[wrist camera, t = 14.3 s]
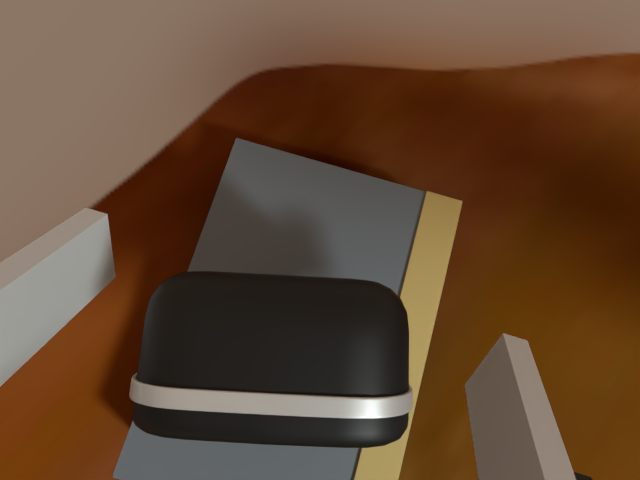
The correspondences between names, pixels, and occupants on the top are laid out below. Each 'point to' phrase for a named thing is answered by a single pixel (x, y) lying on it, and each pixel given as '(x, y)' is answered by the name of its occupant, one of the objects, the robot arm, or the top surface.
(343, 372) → the battery charger
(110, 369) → the top surface
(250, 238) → the dock
